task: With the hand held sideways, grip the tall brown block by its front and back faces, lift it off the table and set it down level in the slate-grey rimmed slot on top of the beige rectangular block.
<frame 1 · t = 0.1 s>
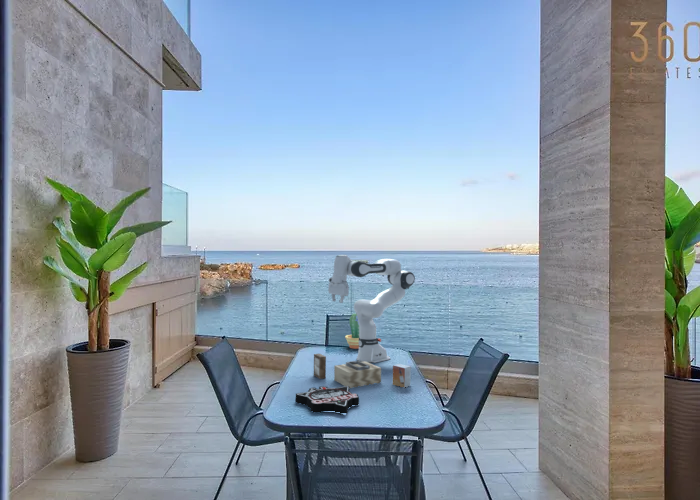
hand: (337, 302, 274), 39 cm above the table, tool pointing down, fingers open, 8 cm apart
wall plaque: (331, 405, 202), on the table
beige rectangular block: (357, 381, 237), on the table
potted cactus: (355, 347, 322), on the table
tall brown block: (319, 376, 245), on the table
small box: (401, 385, 231), on the table
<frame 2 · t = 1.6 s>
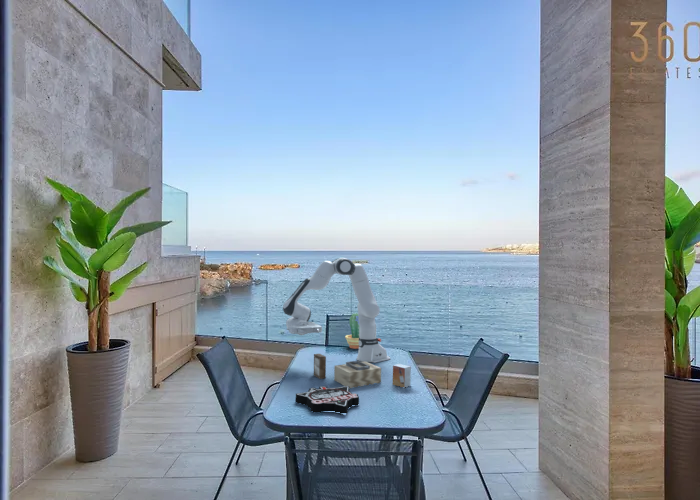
hand: (311, 331, 256), 23 cm above the table, tool horizontal, fingers open, 8 cm apart
nothing on the table moved.
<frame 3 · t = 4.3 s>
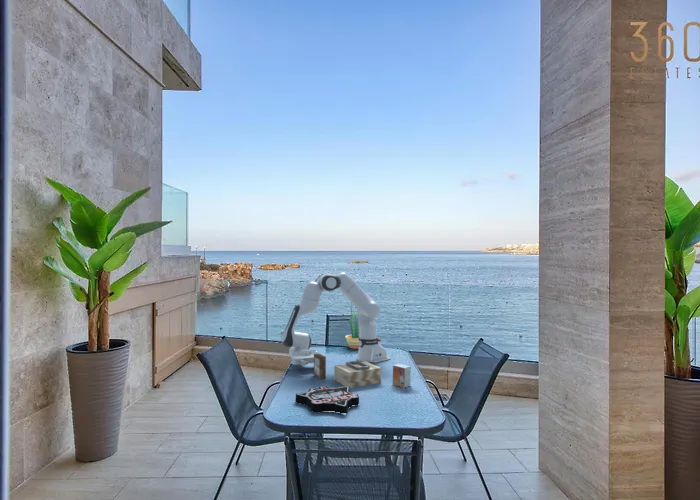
hand: (314, 362, 252), 6 cm above the table, tool horizontal, fingers open, 8 cm apart
nothing on the table moved.
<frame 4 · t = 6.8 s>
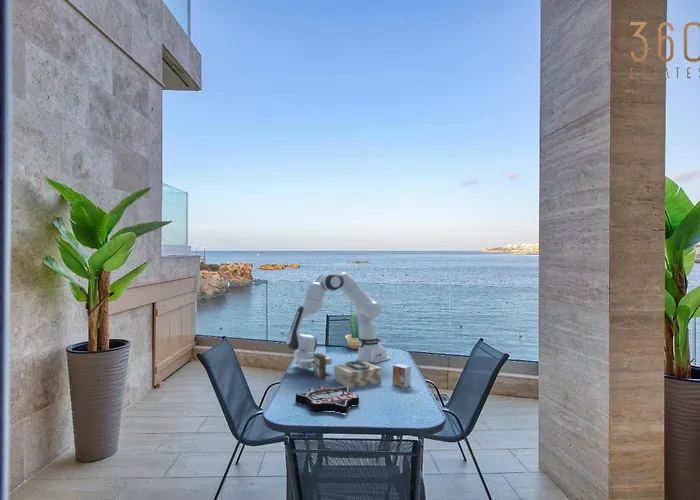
hand: (320, 365, 245), 7 cm above the table, tool horizontal, fingers closed on tall brown block, 4 cm apart
tall brown block: (319, 376, 245), on the table, touching gripper
everything else where it was.
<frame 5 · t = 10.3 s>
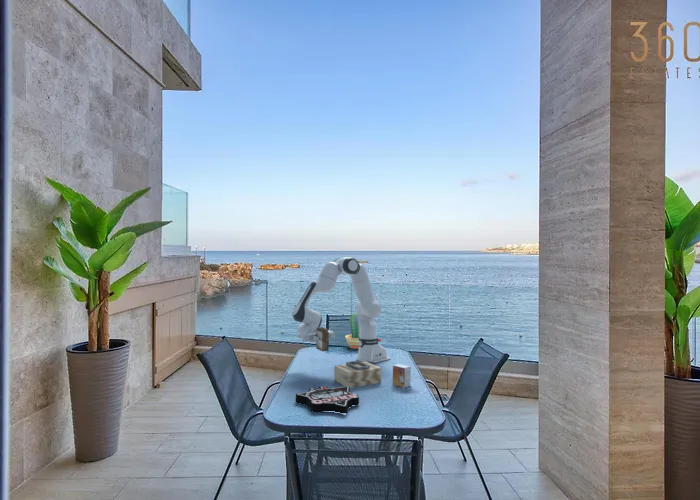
hand: (323, 338, 244), 22 cm above the table, tool horizontal, fingers closed on tall brown block, 4 cm apart
tall brown block: (322, 349, 245), point 15 cm above the table, touching gripper
everything else where it was.
when the fingers open (16 cm above the table, at t = 14.0 s): tall brown block drops 1 cm, resting on beige rectangular block.
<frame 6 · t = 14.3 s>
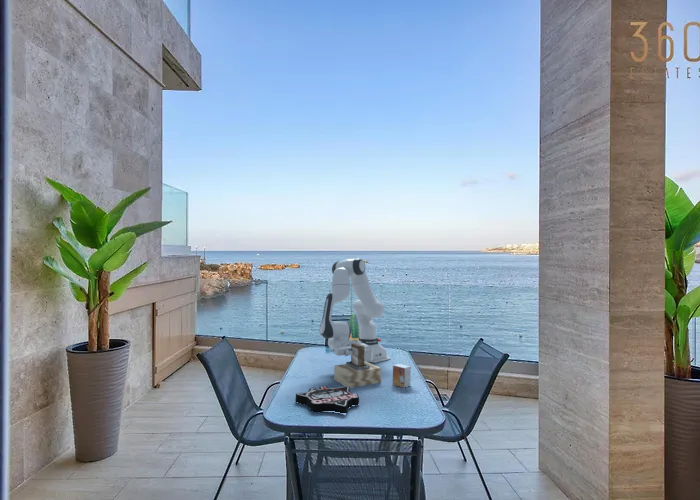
hand: (358, 352, 236), 16 cm above the table, tool horizontal, fingers open, 6 cm apart
tall brown block: (357, 366, 237), point 8 cm above the table, touching beige rectangular block
everything else where it was.
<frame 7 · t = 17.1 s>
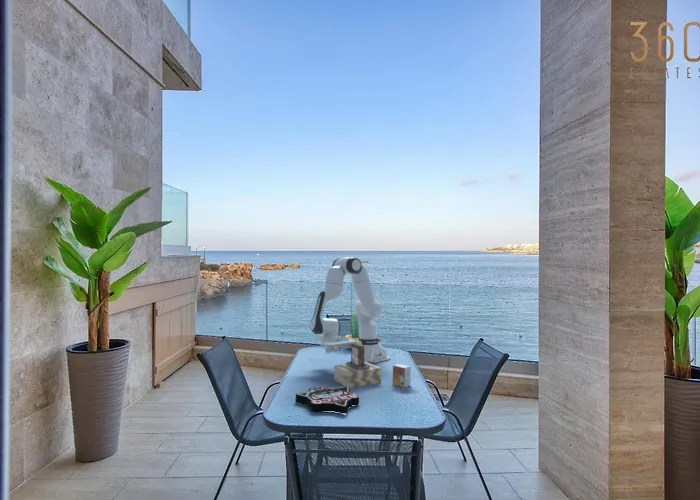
hand: (346, 347, 247), 16 cm above the table, tool horizontal, fingers open, 8 cm apart
nothing on the table moved.
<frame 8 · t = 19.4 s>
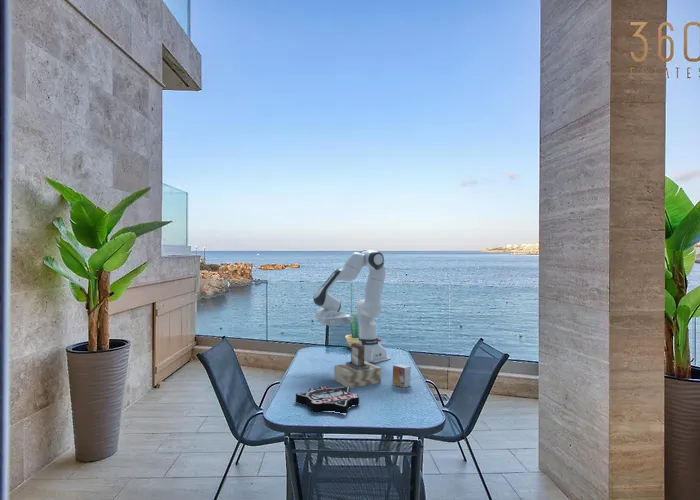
hand: (342, 321, 252), 30 cm above the table, tool horizontal, fingers open, 8 cm apart
nothing on the table moved.
at the end: tall brown block inside the target area on the beige rectangular block (0.0 cm from its centre), point 8.0 cm above the beige rectangular block's base; tall brown block tilted 0°; the gripper is holding nothing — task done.
